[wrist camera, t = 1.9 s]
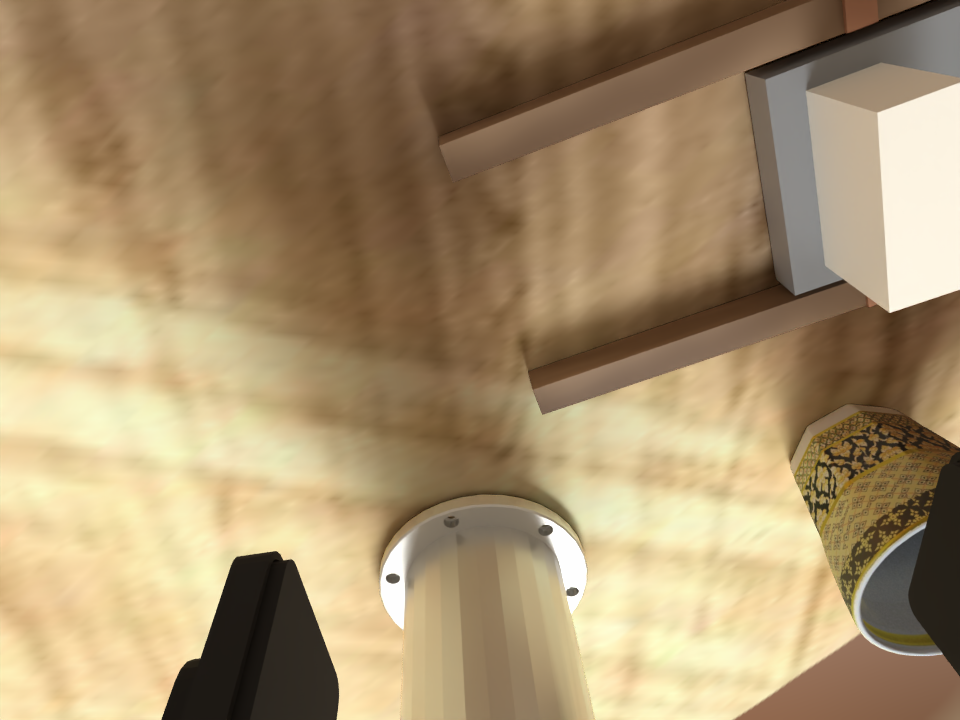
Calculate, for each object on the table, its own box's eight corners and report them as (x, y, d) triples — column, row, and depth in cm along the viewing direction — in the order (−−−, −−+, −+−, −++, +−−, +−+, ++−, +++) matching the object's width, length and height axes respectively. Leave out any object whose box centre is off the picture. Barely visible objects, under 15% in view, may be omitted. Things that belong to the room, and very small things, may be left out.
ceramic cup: (732, 439, 39) (821, 574, 30) (902, 342, 36) (1052, 459, 27) (818, 566, 44) (914, 712, 35) (970, 490, 42) (1112, 626, 33)
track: (1298, 136, 32) (1349, 146, 30) (537, 395, 36) (542, 416, 34) (1390, -236, 25) (1462, -252, 23) (438, 137, 29) (439, 146, 28)
